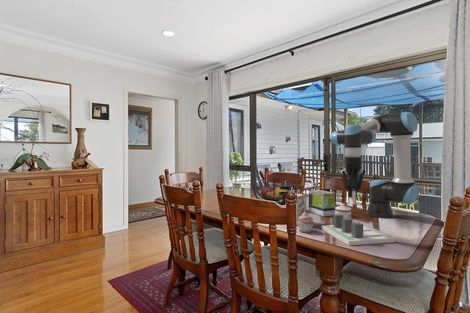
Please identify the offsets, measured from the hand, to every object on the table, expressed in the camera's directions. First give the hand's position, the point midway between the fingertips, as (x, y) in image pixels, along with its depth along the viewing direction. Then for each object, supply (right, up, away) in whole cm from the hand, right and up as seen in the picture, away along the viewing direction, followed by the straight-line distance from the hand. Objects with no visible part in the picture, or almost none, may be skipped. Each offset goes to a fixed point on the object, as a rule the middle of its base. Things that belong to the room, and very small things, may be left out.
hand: (352, 203), depth 134 cm
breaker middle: (-3, -13, 0) cm, 14 cm away
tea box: (-1, -15, +45) cm, 47 cm away
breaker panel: (+2, -16, +1) cm, 16 cm away
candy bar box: (-22, -15, +22) cm, 35 cm away
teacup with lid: (+4, -15, +22) cm, 27 cm away
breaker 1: (-4, -13, +8) cm, 16 cm away
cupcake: (-22, -16, +8) cm, 28 cm away
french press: (-23, -14, +55) cm, 61 cm away
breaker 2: (-1, -14, -8) cm, 16 cm away
